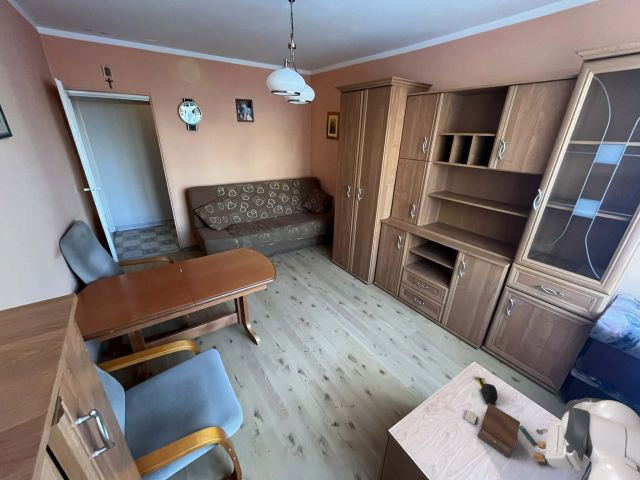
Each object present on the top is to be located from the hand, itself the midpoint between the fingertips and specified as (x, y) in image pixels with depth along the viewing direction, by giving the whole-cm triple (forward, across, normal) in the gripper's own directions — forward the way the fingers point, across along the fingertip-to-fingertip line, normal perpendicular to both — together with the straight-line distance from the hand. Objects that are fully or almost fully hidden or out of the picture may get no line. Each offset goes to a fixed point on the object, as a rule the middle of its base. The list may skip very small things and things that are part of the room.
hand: (535, 439), depth 112 cm
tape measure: (+21, -16, -10) cm, 28 cm away
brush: (+1, 0, +8) cm, 8 cm away
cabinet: (+14, +4, -4) cm, 15 cm away
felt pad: (+20, +4, -12) cm, 24 cm away
